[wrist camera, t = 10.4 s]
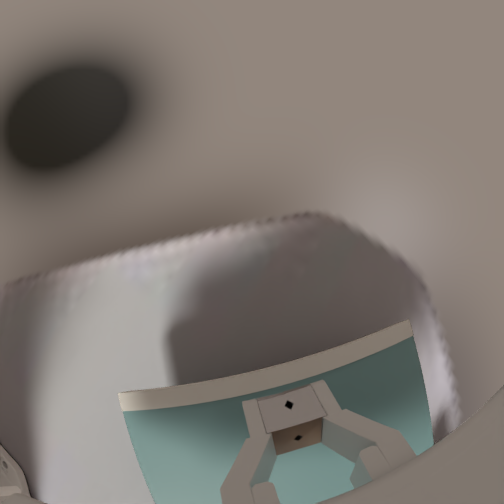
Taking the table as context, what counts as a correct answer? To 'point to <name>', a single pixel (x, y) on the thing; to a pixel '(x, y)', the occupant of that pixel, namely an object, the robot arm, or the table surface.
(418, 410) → the teal flat panel
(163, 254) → the table surface
